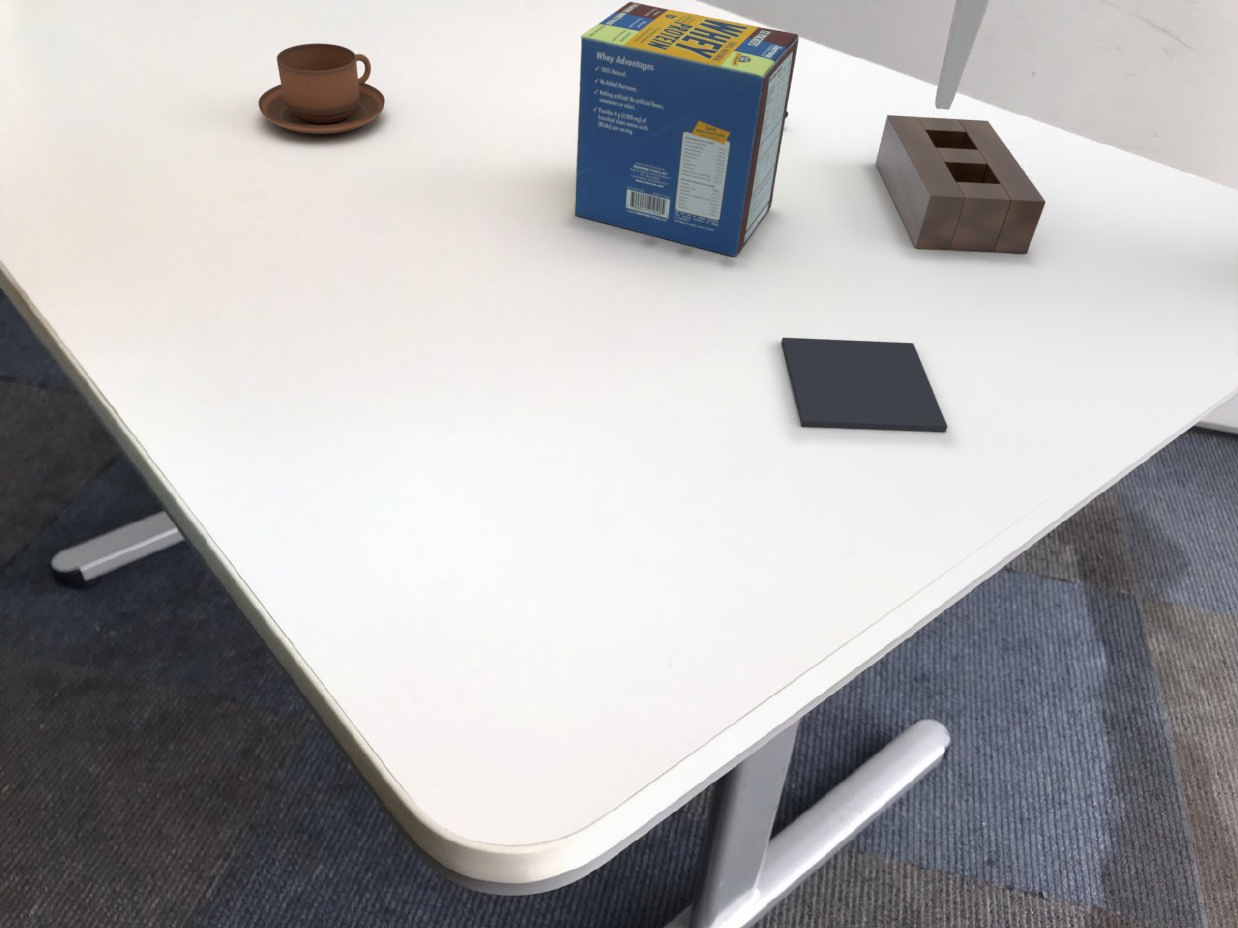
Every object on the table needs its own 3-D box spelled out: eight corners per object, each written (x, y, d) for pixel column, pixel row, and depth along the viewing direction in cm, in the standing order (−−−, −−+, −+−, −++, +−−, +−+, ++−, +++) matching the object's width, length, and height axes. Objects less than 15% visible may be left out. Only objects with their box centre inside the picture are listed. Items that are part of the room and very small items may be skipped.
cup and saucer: (306, 88, 107) (298, 27, 103) (408, 110, 104) (403, 49, 100) (236, 129, 98) (224, 65, 94) (344, 155, 96) (336, 90, 92)
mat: (911, 348, 77) (913, 342, 77) (945, 432, 70) (948, 426, 69) (781, 342, 77) (782, 337, 76) (801, 426, 69) (802, 420, 69)
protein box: (617, 170, 97) (628, -1, 87) (772, 208, 93) (802, 33, 83) (570, 216, 89) (577, 34, 79) (737, 259, 86) (766, 74, 75)
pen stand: (973, 168, 102) (988, 120, 99) (1027, 254, 90) (1046, 201, 86) (875, 163, 102) (887, 114, 98) (915, 248, 89) (930, 195, 86)
